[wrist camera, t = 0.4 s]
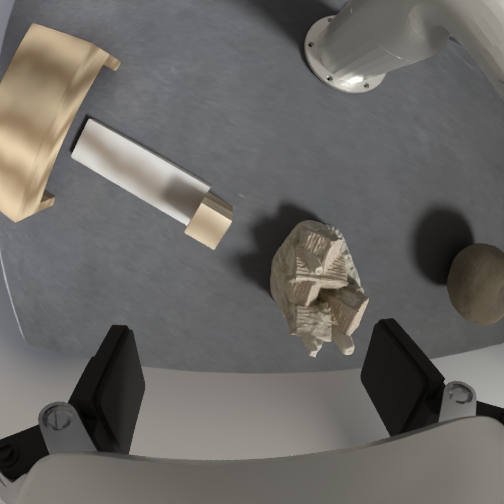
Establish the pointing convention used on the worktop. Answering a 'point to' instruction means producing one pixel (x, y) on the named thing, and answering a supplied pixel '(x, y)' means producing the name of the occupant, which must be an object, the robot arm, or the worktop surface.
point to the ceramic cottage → (318, 286)
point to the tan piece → (154, 181)
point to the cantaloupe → (478, 283)
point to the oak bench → (41, 112)
